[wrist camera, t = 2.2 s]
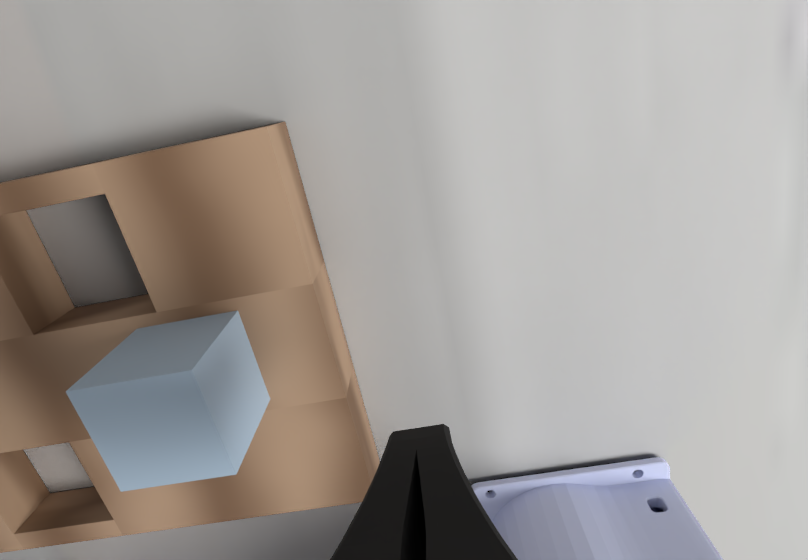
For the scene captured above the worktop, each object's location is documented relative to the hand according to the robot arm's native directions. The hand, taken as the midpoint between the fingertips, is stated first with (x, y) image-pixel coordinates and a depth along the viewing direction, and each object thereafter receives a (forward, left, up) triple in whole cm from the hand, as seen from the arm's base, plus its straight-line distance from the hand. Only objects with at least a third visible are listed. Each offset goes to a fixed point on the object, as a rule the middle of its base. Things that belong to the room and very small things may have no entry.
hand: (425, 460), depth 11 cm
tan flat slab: (+14, 0, -9) cm, 17 cm away
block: (+8, 0, -7) cm, 11 cm away
